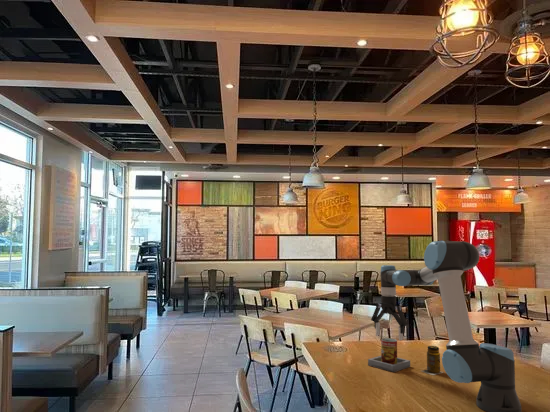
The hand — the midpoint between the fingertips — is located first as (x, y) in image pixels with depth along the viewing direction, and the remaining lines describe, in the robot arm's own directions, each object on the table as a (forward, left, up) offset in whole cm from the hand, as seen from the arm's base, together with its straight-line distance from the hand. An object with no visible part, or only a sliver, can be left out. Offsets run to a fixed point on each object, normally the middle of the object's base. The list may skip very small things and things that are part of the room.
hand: (389, 337), depth 212 cm
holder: (0, 0, -14) cm, 14 cm away
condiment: (+8, -19, -14) cm, 25 cm away
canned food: (0, 0, -13) cm, 13 cm away
